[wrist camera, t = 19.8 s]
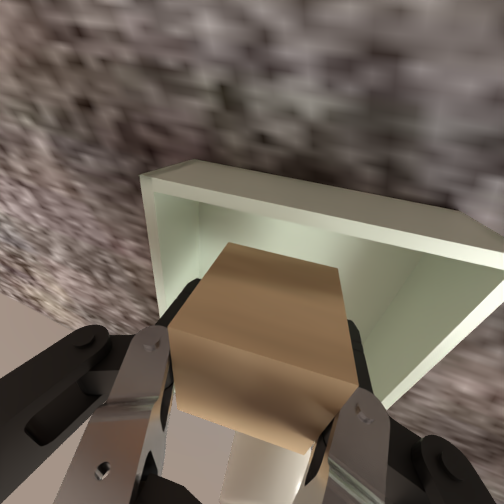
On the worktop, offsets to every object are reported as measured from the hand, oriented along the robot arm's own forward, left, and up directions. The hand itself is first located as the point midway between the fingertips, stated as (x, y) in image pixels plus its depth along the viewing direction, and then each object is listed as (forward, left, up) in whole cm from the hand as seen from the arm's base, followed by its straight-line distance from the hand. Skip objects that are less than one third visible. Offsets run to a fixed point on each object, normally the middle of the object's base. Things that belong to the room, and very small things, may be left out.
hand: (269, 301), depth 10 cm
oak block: (0, 0, 0) cm, 0 cm away
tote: (+5, +1, -5) cm, 7 cm away
